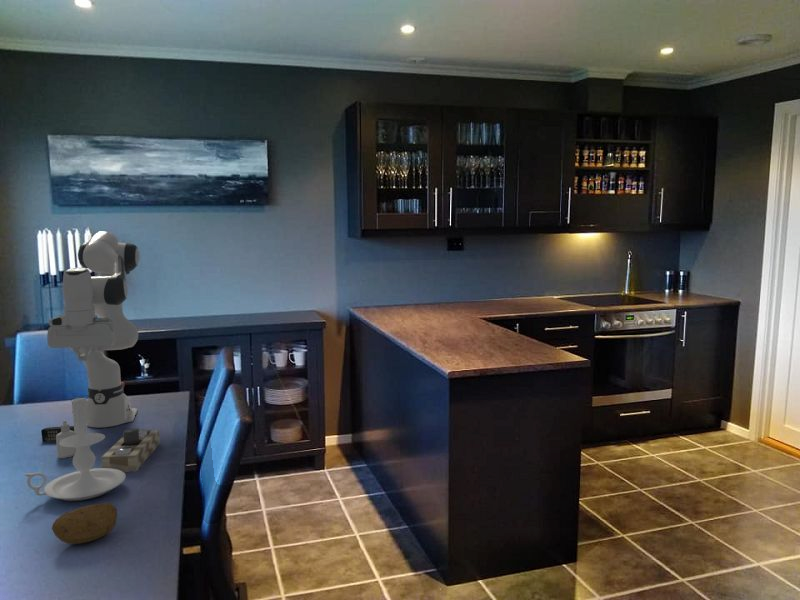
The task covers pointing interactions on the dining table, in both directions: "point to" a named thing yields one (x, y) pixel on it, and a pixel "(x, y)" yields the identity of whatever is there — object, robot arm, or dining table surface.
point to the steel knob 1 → (123, 450)
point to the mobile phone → (52, 433)
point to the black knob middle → (131, 437)
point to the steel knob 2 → (142, 433)
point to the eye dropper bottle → (66, 432)
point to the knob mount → (135, 457)
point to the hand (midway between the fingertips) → (83, 360)
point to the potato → (85, 523)
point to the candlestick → (80, 464)
